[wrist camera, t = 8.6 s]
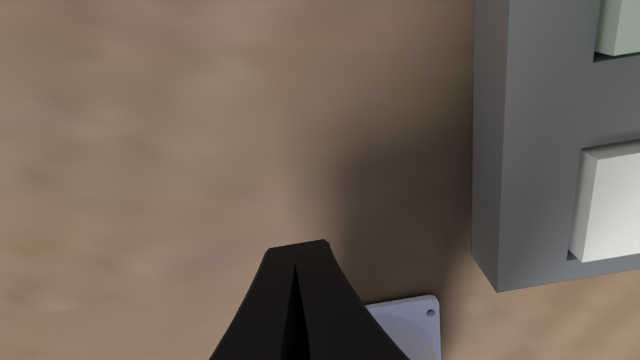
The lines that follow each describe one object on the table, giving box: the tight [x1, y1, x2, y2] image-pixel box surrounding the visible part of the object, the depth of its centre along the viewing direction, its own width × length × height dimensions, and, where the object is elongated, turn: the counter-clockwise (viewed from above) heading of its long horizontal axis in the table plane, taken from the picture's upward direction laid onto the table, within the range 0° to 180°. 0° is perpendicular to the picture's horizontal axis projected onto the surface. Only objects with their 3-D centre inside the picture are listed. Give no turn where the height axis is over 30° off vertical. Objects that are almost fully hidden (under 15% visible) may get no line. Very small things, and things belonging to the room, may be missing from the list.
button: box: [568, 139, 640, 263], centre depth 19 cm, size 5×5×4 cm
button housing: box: [472, 0, 640, 293], centre depth 18 cm, size 17×12×3 cm
